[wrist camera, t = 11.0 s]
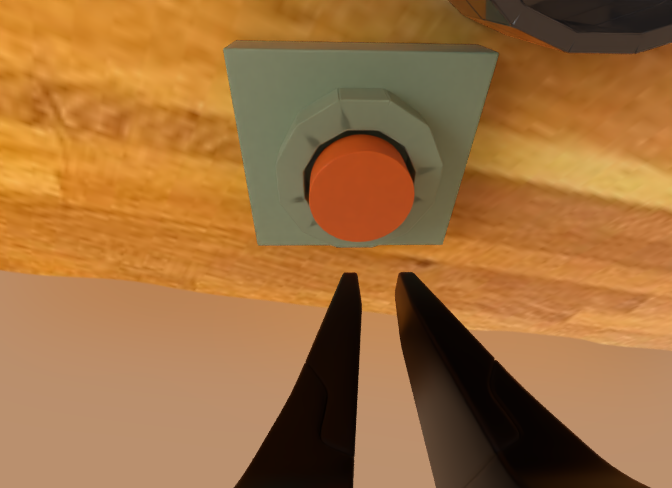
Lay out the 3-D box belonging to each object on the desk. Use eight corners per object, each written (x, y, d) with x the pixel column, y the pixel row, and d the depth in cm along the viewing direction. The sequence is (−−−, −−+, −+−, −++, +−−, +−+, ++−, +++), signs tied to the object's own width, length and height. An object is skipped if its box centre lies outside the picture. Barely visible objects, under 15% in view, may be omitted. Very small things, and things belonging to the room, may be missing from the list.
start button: (413, 134, 13) (424, 151, 12) (399, 220, 16) (405, 242, 15) (308, 133, 13) (306, 150, 12) (311, 220, 16) (310, 242, 15)
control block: (479, 44, 14) (521, 61, 11) (433, 223, 21) (451, 266, 18) (234, 40, 14) (209, 56, 11) (263, 224, 20) (252, 267, 17)
